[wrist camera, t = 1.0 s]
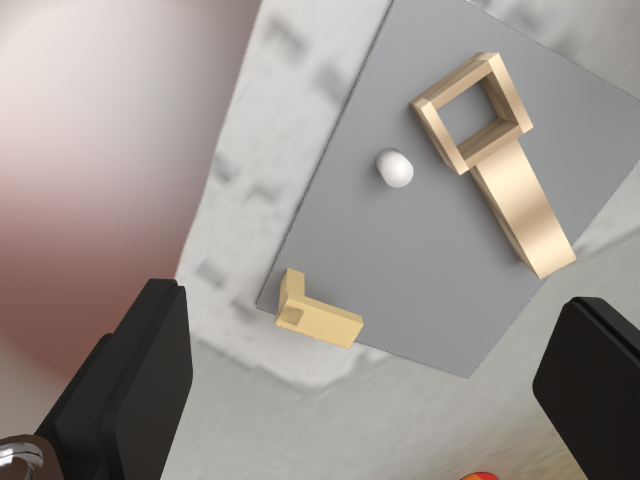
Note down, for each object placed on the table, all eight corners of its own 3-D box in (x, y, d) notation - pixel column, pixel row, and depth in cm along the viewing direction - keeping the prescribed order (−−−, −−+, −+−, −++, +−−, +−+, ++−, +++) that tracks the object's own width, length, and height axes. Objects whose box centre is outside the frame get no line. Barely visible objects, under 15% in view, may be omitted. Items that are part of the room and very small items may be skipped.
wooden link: (409, 102, 28) (420, 108, 25) (478, 52, 27) (498, 52, 24) (508, 268, 34) (525, 287, 32) (568, 234, 33) (591, 250, 30)
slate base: (660, 116, 30) (741, 132, 25) (464, 371, 41) (490, 423, 35) (405, -28, 26) (435, -49, 20) (257, 301, 36) (249, 348, 30)
